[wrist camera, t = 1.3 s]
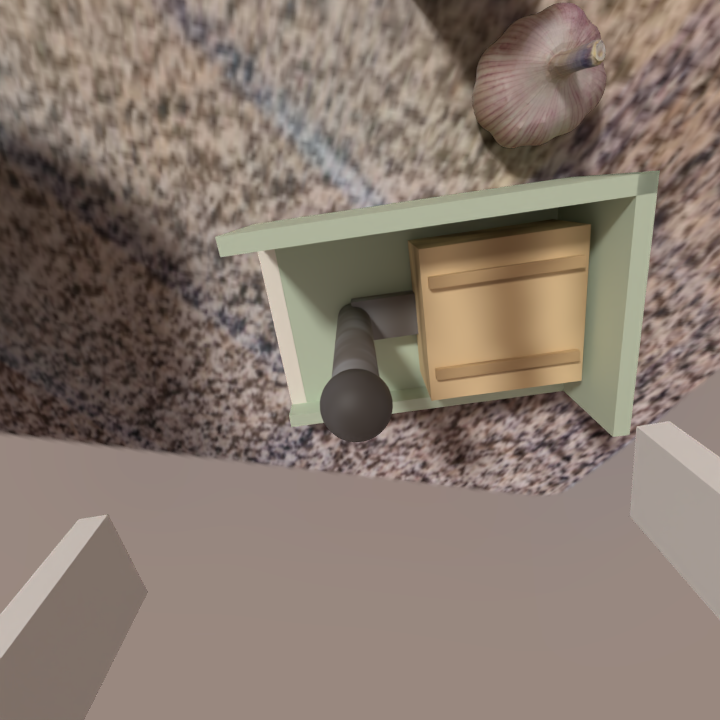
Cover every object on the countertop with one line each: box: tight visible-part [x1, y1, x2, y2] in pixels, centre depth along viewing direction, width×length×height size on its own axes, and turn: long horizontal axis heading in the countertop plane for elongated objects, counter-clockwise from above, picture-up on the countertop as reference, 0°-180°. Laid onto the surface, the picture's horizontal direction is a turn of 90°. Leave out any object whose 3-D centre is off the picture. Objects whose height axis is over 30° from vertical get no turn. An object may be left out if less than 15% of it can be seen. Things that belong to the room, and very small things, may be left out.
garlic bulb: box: [472, 3, 606, 148], centre depth 23 cm, size 8×7×8 cm
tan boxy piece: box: [320, 219, 591, 442], centre depth 24 cm, size 16×10×15 cm, turn 98°
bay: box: [215, 171, 659, 437], centre depth 28 cm, size 22×15×9 cm
